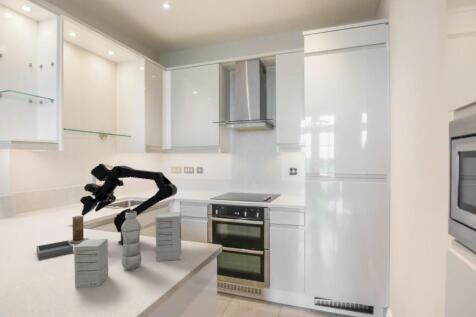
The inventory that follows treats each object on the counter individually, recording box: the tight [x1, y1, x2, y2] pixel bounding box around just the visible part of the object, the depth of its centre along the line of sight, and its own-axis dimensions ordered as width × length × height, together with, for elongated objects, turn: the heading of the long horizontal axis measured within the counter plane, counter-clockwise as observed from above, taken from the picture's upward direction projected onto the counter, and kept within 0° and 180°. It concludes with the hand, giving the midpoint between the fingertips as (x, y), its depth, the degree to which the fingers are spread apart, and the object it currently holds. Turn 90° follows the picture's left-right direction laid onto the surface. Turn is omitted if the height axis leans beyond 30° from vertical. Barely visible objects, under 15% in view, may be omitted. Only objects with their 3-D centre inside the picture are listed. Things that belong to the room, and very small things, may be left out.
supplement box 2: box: [155, 211, 182, 262], centre depth 103 cm, size 10×9×17 cm
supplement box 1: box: [73, 238, 109, 288], centre depth 82 cm, size 7×7×13 cm
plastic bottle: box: [121, 211, 142, 270], centre depth 92 cm, size 6×7×20 cm
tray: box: [36, 239, 74, 260], centre depth 109 cm, size 12×12×2 cm
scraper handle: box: [69, 215, 89, 245], centre depth 122 cm, size 6×6×12 cm
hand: (89, 213), depth 122 cm, fingers open, 9 cm apart
